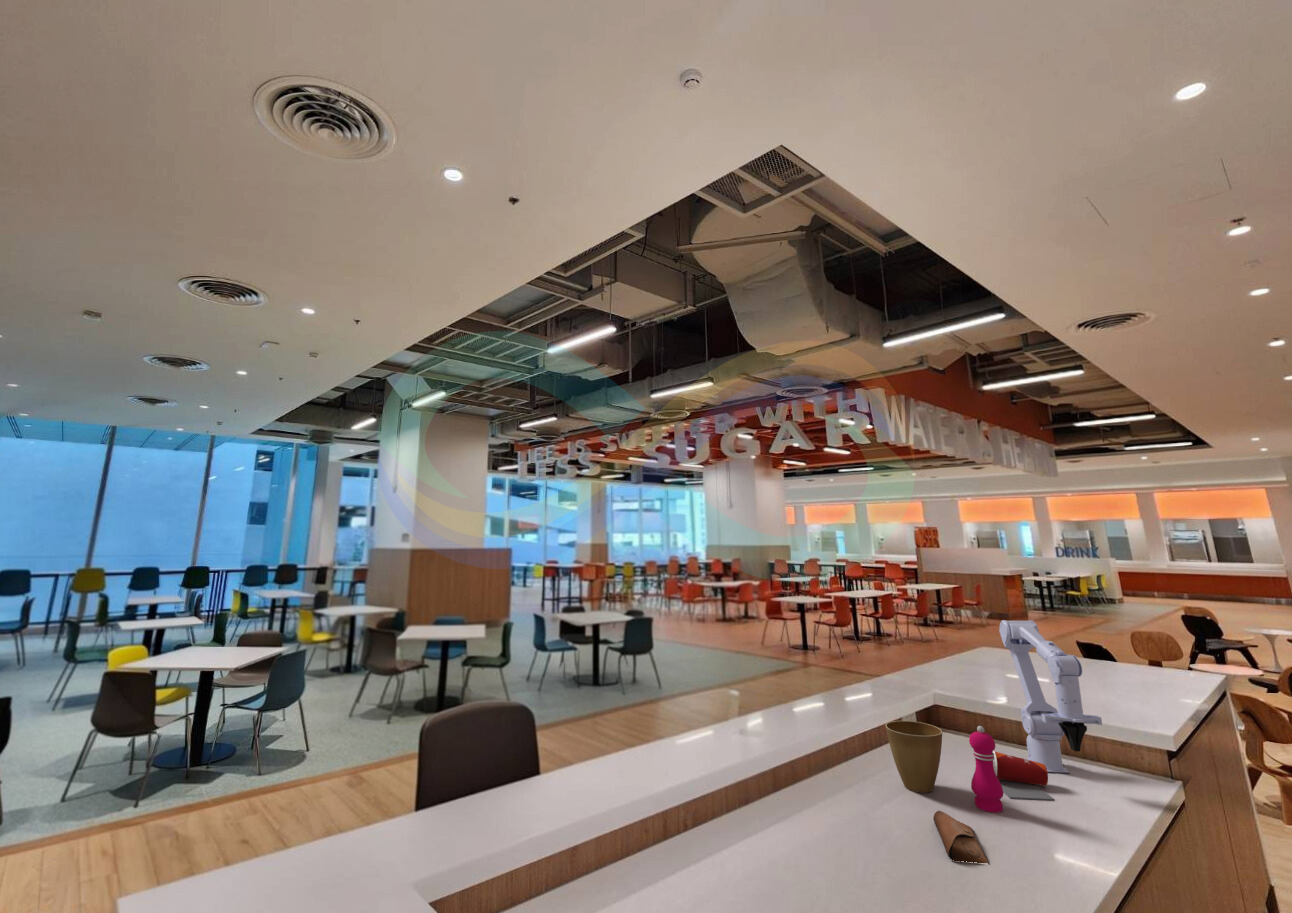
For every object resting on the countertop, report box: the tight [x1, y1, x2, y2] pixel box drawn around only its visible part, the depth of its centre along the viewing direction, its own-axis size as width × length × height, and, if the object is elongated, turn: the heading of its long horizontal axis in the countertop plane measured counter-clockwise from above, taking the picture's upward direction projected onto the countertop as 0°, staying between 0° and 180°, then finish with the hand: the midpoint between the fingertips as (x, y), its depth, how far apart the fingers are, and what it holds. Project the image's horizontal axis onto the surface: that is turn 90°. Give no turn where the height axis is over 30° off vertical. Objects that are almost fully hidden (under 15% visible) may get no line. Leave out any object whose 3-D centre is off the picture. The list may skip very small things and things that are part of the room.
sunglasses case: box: [933, 810, 989, 863], centre depth 129 cm, size 18×7×7 cm, turn 163°
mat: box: [998, 779, 1056, 802], centre depth 157 cm, size 16×11×1 cm
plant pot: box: [885, 720, 943, 794], centre depth 160 cm, size 15×15×16 cm
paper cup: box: [993, 750, 1049, 787], centre depth 160 cm, size 8×8×14 cm
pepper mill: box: [968, 725, 1004, 814], centre depth 147 cm, size 7×7×20 cm
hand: (1075, 750), depth 157 cm, fingers closed
